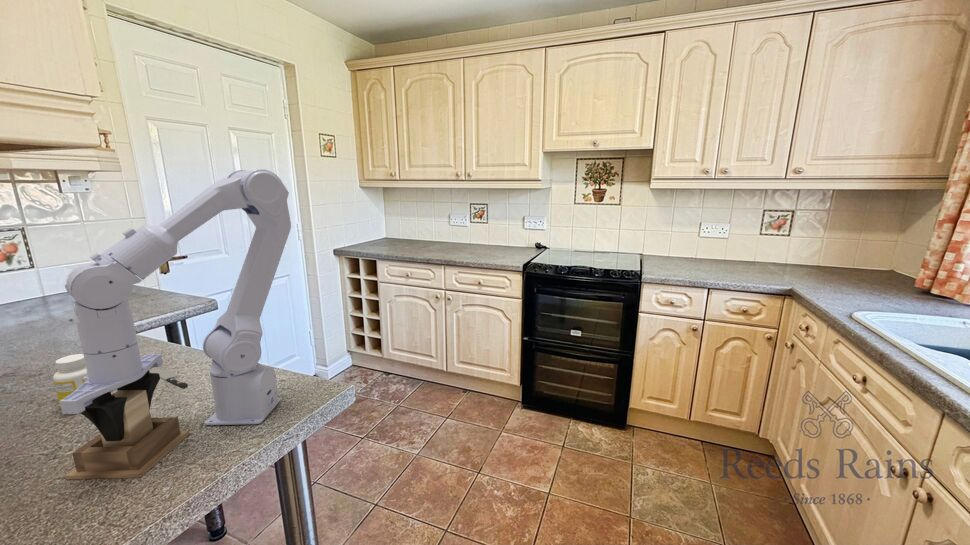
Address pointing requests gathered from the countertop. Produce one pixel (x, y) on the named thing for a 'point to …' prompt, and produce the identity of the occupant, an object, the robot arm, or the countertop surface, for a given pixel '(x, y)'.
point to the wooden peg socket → (127, 453)
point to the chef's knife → (169, 377)
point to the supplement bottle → (69, 375)
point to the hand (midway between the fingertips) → (128, 430)
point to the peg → (133, 418)
